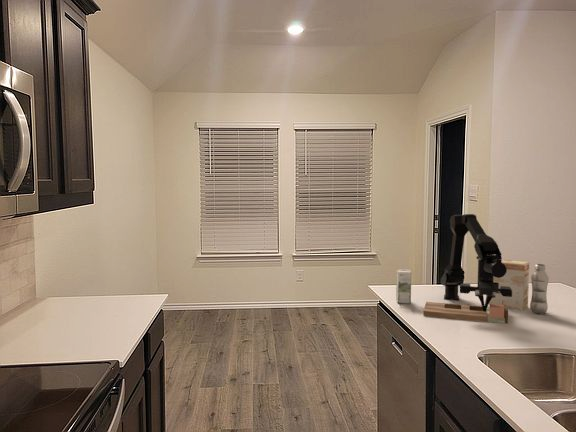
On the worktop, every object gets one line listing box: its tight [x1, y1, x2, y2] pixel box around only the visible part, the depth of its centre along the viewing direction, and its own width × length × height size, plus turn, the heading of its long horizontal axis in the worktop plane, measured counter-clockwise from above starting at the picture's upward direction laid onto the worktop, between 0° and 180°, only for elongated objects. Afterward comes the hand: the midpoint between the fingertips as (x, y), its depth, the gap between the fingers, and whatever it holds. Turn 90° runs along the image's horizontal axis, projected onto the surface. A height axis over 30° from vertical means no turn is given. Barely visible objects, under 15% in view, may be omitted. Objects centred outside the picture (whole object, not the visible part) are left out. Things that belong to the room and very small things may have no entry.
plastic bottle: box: [529, 263, 550, 314], centre depth 192 cm, size 6×7×20 cm
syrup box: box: [395, 269, 412, 305], centre depth 210 cm, size 6×6×14 cm
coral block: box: [489, 304, 504, 319], centre depth 182 cm, size 5×5×4 cm
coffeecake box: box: [488, 259, 530, 311], centre depth 203 cm, size 15×7×20 cm, turn 47°
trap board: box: [422, 301, 509, 324], centre depth 191 cm, size 14×31×5 cm, turn 70°
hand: (484, 311), depth 185 cm, fingers closed
